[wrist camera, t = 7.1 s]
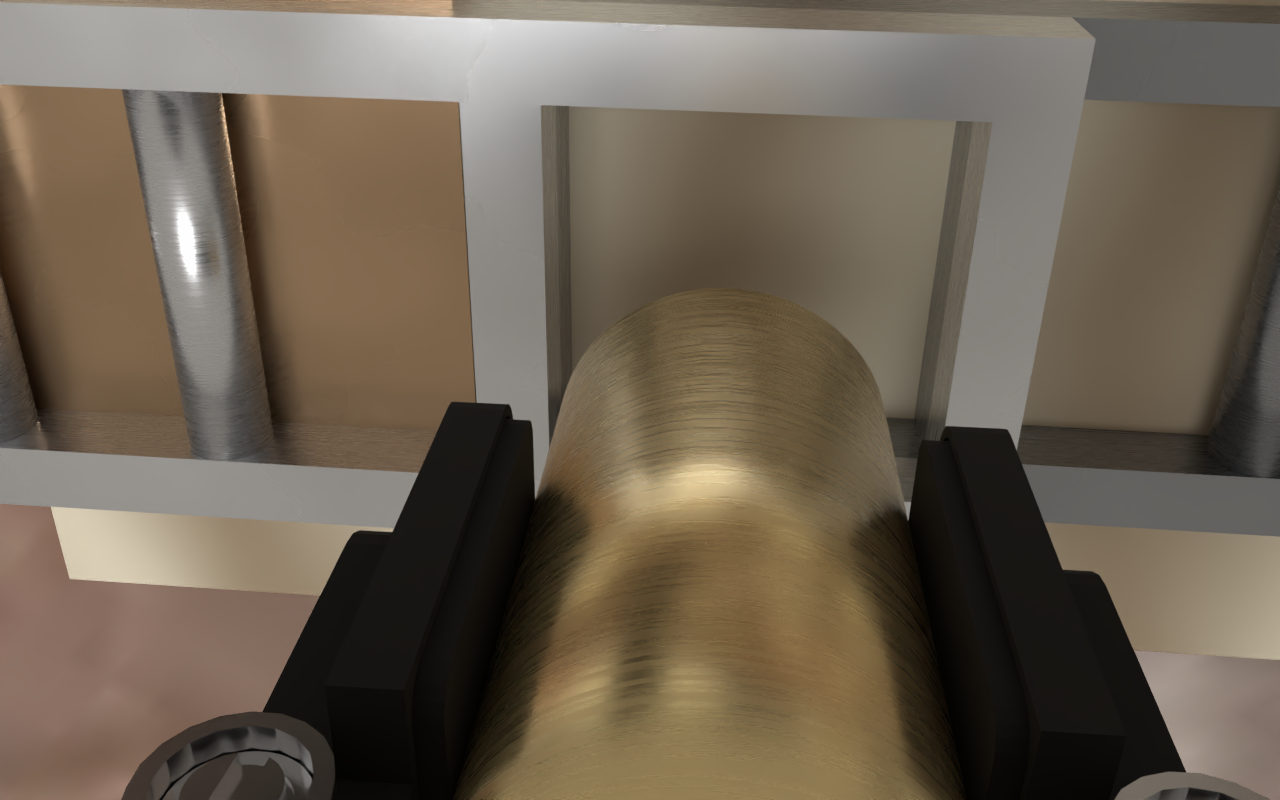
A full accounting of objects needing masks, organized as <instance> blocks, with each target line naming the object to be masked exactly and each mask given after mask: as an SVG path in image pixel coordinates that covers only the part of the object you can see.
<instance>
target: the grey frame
mask: <svg viewBox="0 0 1280 800" xmlns="http://www.w3.org/2000/svg"><path fill="white" fill-rule="evenodd" d="M543 1H575V2H606V3H637V4H668V5H699V6H731V7H762V8H793V9H824V10H855V11H887V12H918V13H949V14H980V15H1011V16H1043V17H1072V18H1073V19H1074V20H1075V21H1077V22H1078V23H1079V24H1080V25H1081V26H1082V27H1083V28H1084V29H1085V30H1086V31H1088V32H1089V33H1090V34H1091V35H1092V36H1093V37H1094V38H1095V39H1096V40H1095V45H1094V50H1093V56H1092V61H1091V66H1090V71H1089V76H1088V82H1087V87H1086V92H1085V97H1084V100H1104V101H1131V102H1158V103H1186V104H1213V105H1240V106H1268V107H1280V6H1268V5H1235V4H1203V3H1171V2H1139V1H1106V0H543ZM972 126H973V121H956V127H955V134H954V141H953V148H952V155H951V162H950V169H949V176H948V183H947V190H946V197H945V204H944V211H943V218H942V225H941V232H940V239H939V246H938V253H937V261H936V268H935V275H934V282H933V289H932V296H931V303H930V310H929V317H928V324H927V331H926V338H925V345H924V352H923V359H922V366H921V373H920V380H919V387H918V394H917V401H916V408H915V415H914V419H908V418H889V417H886V419H887V423H888V428H889V433H890V438H891V442H892V447H893V452H894V456H895V457H902V458H918V452H919V447H920V444H921V442H922V441H923V440H926V435H927V428H928V421H929V415H930V408H931V401H932V395H933V388H934V381H935V374H936V368H937V361H938V354H939V348H940V341H941V334H942V327H943V321H944V314H945V307H946V300H947V294H948V287H949V280H950V274H951V267H952V260H953V253H954V247H955V240H956V233H957V227H958V220H959V213H960V206H961V200H962V193H963V186H964V180H965V173H966V166H967V159H968V153H969V146H970V139H971V132H972ZM556 149H557V201H558V254H559V306H560V358H561V404H562V401H563V397H564V393H565V391H566V388H567V385H568V383H569V380H570V377H571V375H572V312H571V240H570V168H569V106H556ZM1017 453H1018V455H1019V458H1020V460H1021V463H1022V466H1023V468H1024V471H1025V473H1026V476H1027V479H1028V481H1029V484H1030V486H1031V489H1032V492H1033V494H1034V497H1035V499H1036V502H1037V504H1038V507H1039V510H1040V512H1041V515H1042V517H1043V520H1044V522H1045V523H1061V524H1078V525H1094V526H1111V527H1127V528H1144V529H1161V530H1177V531H1194V532H1210V533H1227V534H1244V535H1260V536H1277V537H1280V184H1279V188H1278V191H1277V195H1276V199H1275V202H1274V206H1273V209H1272V213H1271V216H1270V220H1269V224H1268V227H1267V231H1266V234H1265V238H1264V242H1263V245H1262V249H1261V252H1260V256H1259V259H1258V263H1257V267H1256V270H1255V274H1254V277H1253V281H1252V285H1251V288H1250V292H1249V295H1248V299H1247V302H1246V306H1245V310H1244V313H1243V317H1242V320H1241V324H1240V327H1239V331H1238V335H1237V338H1236V342H1235V345H1234V349H1233V353H1232V356H1231V360H1230V363H1229V367H1228V370H1227V374H1226V378H1225V381H1224V385H1223V388H1222V392H1221V396H1220V399H1219V403H1218V406H1217V410H1216V413H1215V417H1214V421H1213V424H1212V428H1211V431H1210V435H1199V434H1181V433H1163V432H1144V431H1126V430H1108V429H1090V428H1072V427H1053V426H1035V425H1022V426H1021V431H1020V436H1019V441H1018V447H1017Z"/></svg>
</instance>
